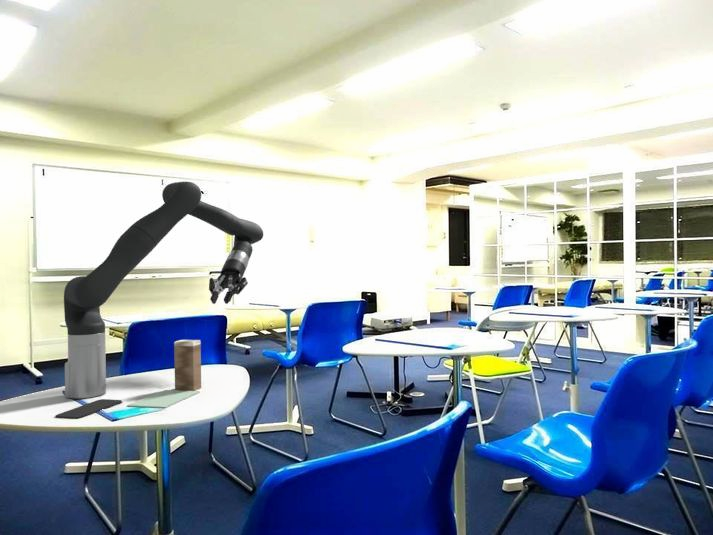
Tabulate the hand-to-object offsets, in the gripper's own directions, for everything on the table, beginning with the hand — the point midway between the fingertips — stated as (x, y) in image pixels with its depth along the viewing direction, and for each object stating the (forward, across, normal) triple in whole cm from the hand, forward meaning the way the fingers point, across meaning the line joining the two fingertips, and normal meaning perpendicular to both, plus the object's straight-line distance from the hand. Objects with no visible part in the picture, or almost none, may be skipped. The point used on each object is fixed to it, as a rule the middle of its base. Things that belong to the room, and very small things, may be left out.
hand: (219, 301), depth 159 cm
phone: (+47, -13, -12) cm, 50 cm away
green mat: (+38, 0, -4) cm, 38 cm away
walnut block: (+31, 0, +4) cm, 31 cm away
